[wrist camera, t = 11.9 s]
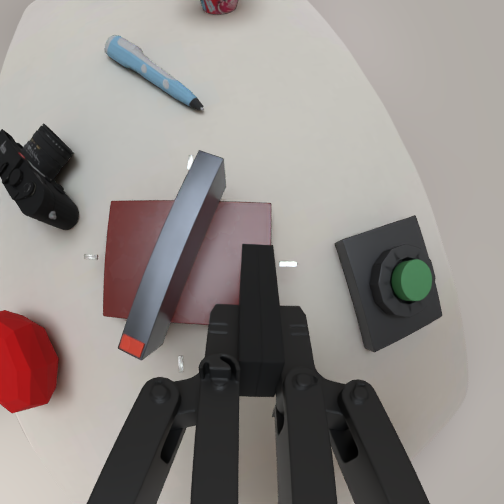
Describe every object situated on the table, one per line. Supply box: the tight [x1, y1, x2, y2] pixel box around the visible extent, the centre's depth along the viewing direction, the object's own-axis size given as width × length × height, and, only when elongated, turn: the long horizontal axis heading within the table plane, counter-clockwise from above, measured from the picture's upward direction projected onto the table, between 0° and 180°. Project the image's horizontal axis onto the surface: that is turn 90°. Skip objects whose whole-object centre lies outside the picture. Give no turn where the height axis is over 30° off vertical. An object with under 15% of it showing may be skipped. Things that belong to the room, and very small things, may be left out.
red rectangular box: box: [84, 155, 297, 372], centre depth 24 cm, size 18×18×4 cm
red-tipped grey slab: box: [118, 150, 226, 360], centre depth 20 cm, size 14×2×6 cm, turn 159°
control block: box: [335, 215, 442, 352], centre depth 25 cm, size 11×9×4 cm
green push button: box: [391, 259, 432, 301], centre depth 23 cm, size 4×4×2 cm
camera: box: [0, 123, 79, 230], centre depth 22 cm, size 14×7×8 cm, turn 50°
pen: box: [104, 35, 204, 110], centre depth 27 cm, size 19×3×3 cm, turn 47°
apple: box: [0, 310, 59, 413], centre depth 19 cm, size 11×11×10 cm
